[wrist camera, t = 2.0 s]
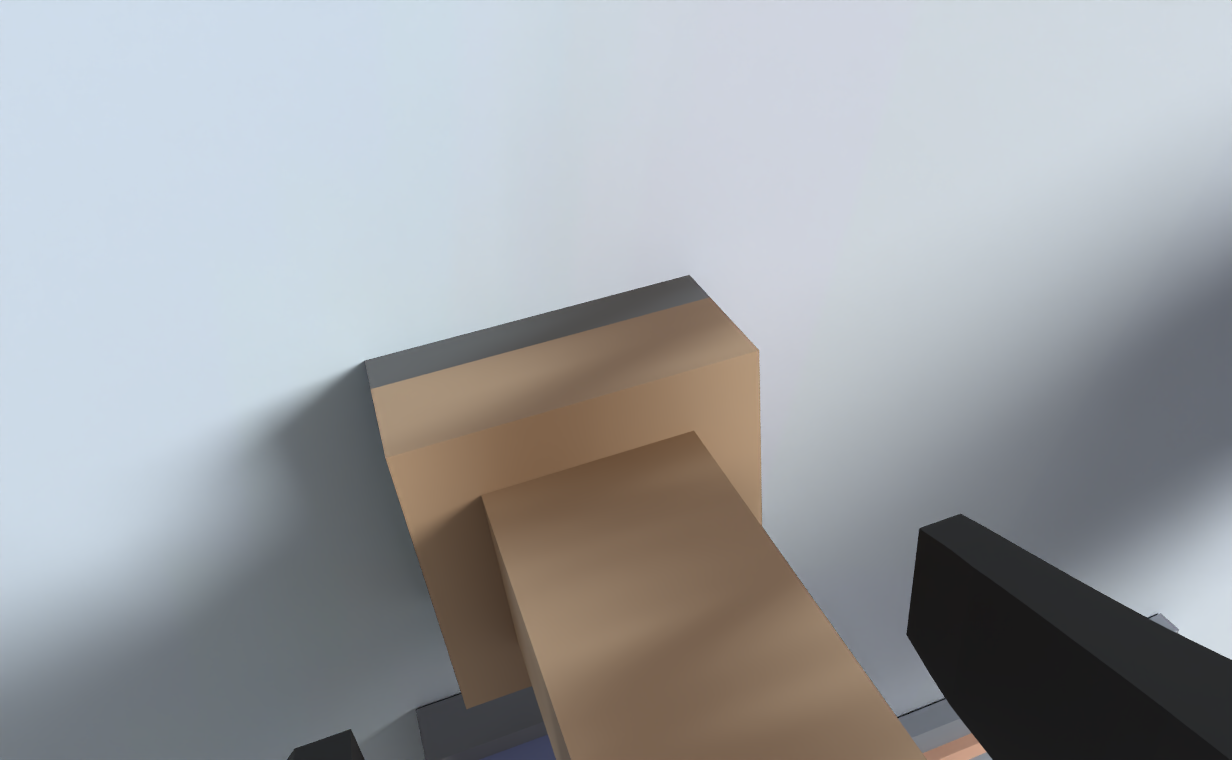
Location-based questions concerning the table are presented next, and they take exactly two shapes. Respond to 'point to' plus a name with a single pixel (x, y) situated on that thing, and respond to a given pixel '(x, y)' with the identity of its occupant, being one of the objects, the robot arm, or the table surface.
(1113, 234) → the table surface
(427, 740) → the ink pad
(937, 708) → the board
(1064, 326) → the table surface
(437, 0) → the table surface
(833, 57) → the table surface
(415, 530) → the stamp
